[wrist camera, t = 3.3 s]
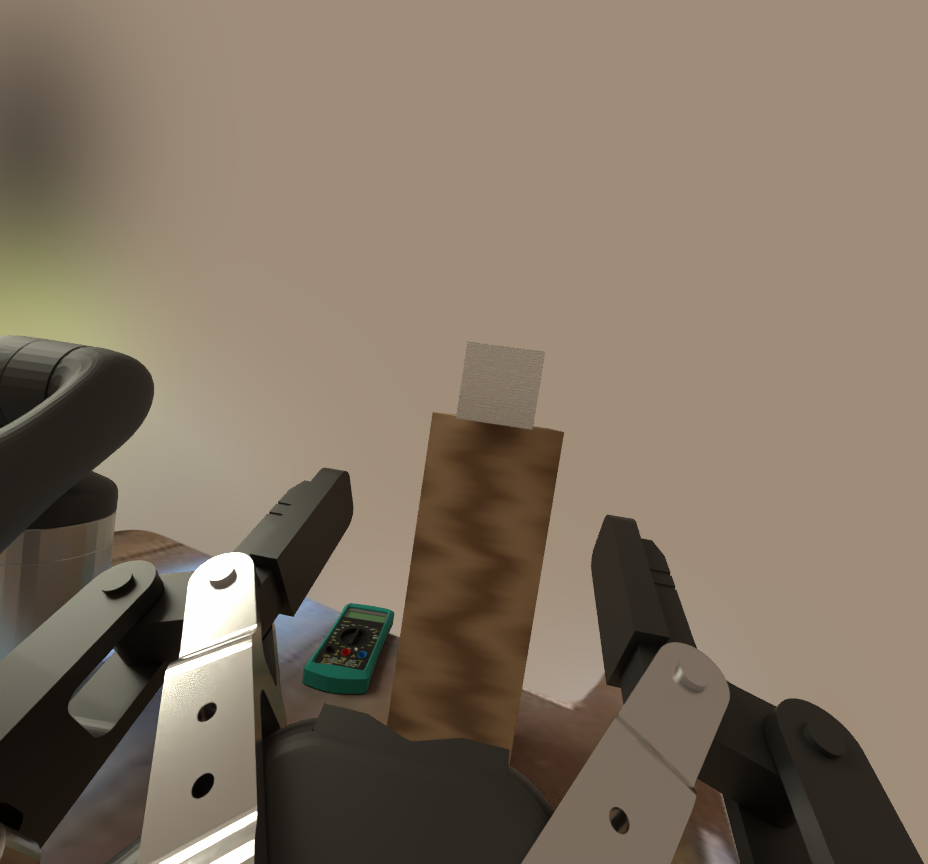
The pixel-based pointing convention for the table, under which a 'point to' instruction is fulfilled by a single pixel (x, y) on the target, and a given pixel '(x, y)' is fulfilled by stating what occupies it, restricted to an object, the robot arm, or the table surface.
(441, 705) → the walnut stand
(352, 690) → the digital multimeter
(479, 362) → the aluminium bar
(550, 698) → the table surface
